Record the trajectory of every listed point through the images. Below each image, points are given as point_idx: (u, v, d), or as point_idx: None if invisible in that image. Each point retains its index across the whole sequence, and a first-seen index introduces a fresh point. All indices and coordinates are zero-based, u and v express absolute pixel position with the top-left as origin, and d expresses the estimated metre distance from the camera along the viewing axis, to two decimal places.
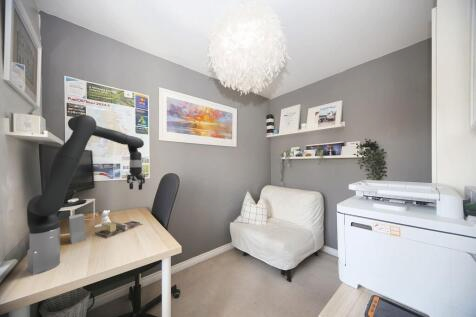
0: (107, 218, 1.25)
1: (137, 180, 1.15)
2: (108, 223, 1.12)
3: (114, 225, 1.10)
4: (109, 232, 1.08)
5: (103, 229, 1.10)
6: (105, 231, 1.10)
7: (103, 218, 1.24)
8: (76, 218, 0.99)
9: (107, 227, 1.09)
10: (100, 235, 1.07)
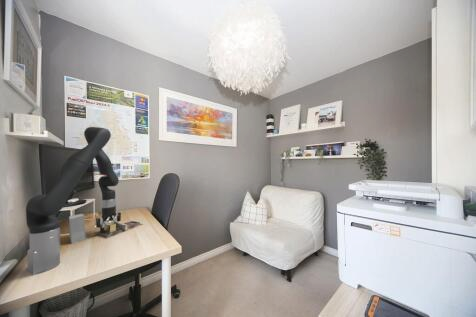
0: None
1: (116, 219, 1.14)
2: (108, 223, 1.12)
3: (114, 225, 1.10)
4: (109, 232, 1.08)
5: None
6: (105, 231, 1.10)
7: None
8: (76, 218, 0.99)
9: (107, 227, 1.09)
10: (100, 235, 1.07)
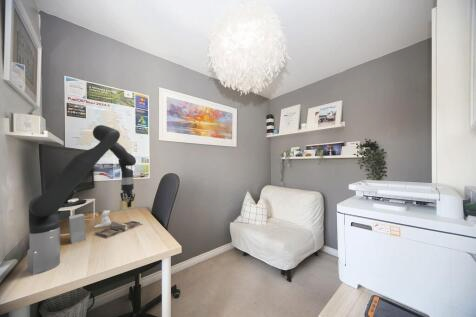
0: (107, 218, 1.25)
1: None
2: (126, 200, 1.22)
3: None
4: (133, 204, 1.25)
5: (125, 205, 1.20)
6: None
7: (103, 218, 1.24)
8: (76, 218, 0.99)
9: None
10: (100, 235, 1.07)
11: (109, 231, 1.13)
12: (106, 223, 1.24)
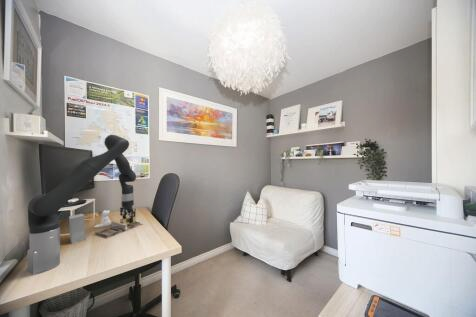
0: (107, 218, 1.25)
1: None
2: (126, 217, 1.22)
3: None
4: (134, 222, 1.25)
5: (126, 223, 1.20)
6: (128, 224, 1.21)
7: (103, 218, 1.24)
8: (76, 218, 0.99)
9: None
10: (100, 235, 1.07)
11: (109, 231, 1.13)
12: (106, 223, 1.24)
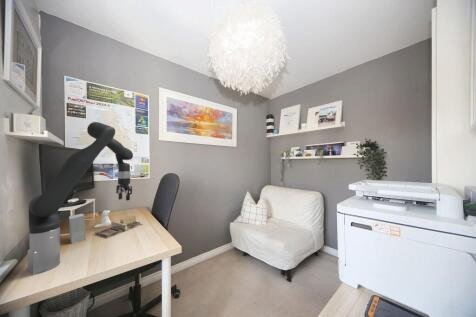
0: (107, 218, 1.25)
1: None
2: (126, 217, 1.22)
3: None
4: (134, 222, 1.25)
5: (126, 223, 1.20)
6: (128, 224, 1.21)
7: (103, 218, 1.24)
8: (76, 218, 0.99)
9: (132, 218, 1.24)
10: (100, 235, 1.07)
11: (109, 231, 1.13)
12: (106, 223, 1.24)
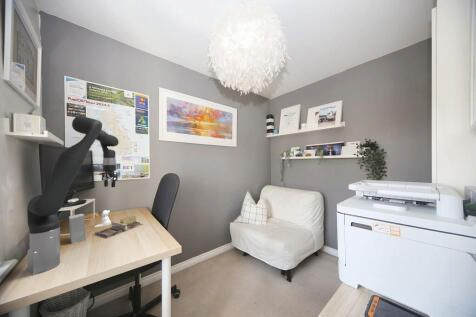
0: (107, 218, 1.25)
1: None
2: (126, 217, 1.22)
3: None
4: (134, 222, 1.25)
5: (126, 223, 1.20)
6: (128, 224, 1.21)
7: (103, 218, 1.24)
8: (76, 218, 0.99)
9: (132, 218, 1.24)
10: (100, 235, 1.07)
11: (109, 231, 1.13)
12: (106, 223, 1.24)
